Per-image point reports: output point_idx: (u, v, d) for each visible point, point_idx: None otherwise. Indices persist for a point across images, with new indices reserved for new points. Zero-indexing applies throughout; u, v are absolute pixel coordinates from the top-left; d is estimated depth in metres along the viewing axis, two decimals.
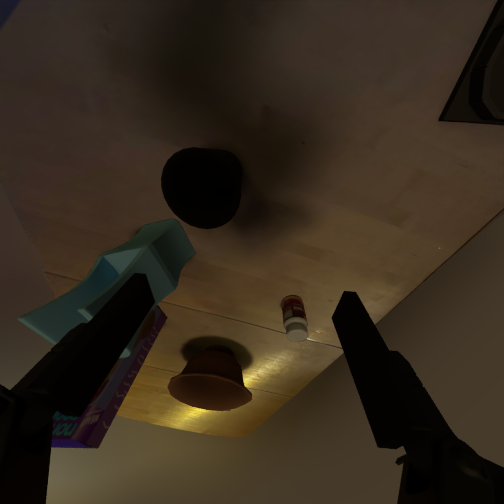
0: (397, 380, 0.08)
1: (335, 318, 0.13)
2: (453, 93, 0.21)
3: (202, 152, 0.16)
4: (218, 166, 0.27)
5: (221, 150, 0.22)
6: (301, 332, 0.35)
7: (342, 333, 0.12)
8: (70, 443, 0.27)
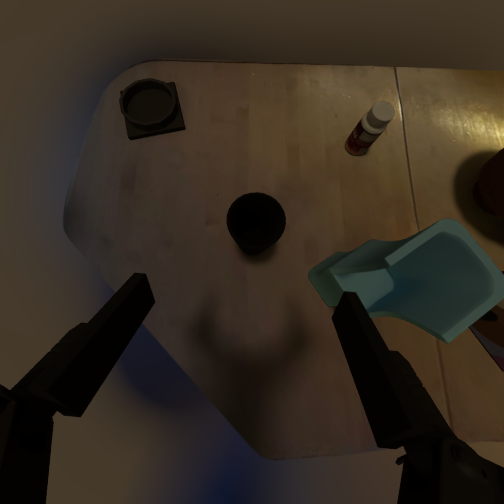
0: (397, 380, 0.08)
1: (335, 318, 0.13)
2: (172, 130, 0.39)
3: (229, 222, 0.23)
4: (249, 244, 0.35)
5: None
6: (376, 109, 0.32)
7: (342, 333, 0.12)
8: None
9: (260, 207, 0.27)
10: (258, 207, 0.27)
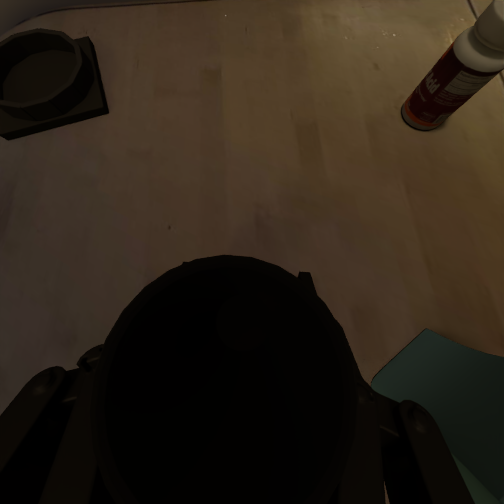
0: None
1: None
2: (84, 116, 0.21)
3: (98, 415, 0.05)
4: (237, 331, 0.16)
5: None
6: None
7: None
8: None
9: (247, 282, 0.09)
10: (241, 281, 0.09)
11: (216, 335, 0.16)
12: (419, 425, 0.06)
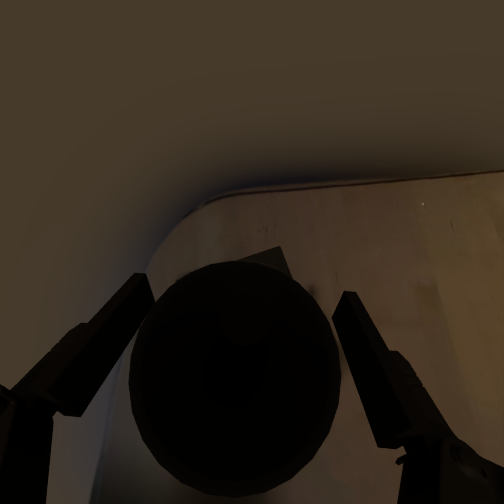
0: (397, 380, 0.08)
1: (335, 318, 0.13)
2: None
3: (136, 387, 0.06)
4: (240, 328, 0.18)
5: None
6: None
7: (342, 333, 0.12)
8: None
9: (251, 282, 0.10)
10: (246, 282, 0.10)
11: (221, 331, 0.17)
12: None
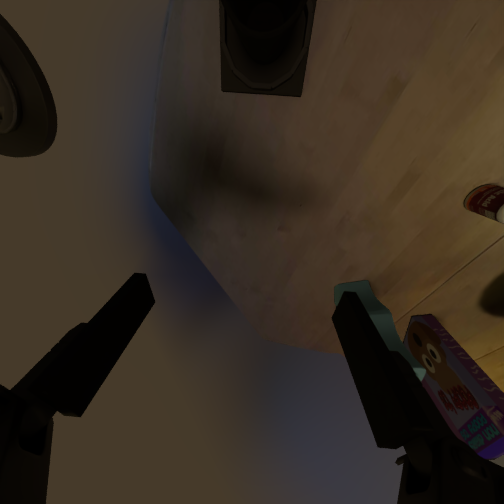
0: (397, 380, 0.08)
1: (335, 318, 0.13)
2: (283, 95, 0.27)
3: None
4: None
5: None
6: None
7: (342, 333, 0.12)
8: None
9: None
10: None
11: None
12: None
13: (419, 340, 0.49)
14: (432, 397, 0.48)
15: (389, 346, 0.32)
